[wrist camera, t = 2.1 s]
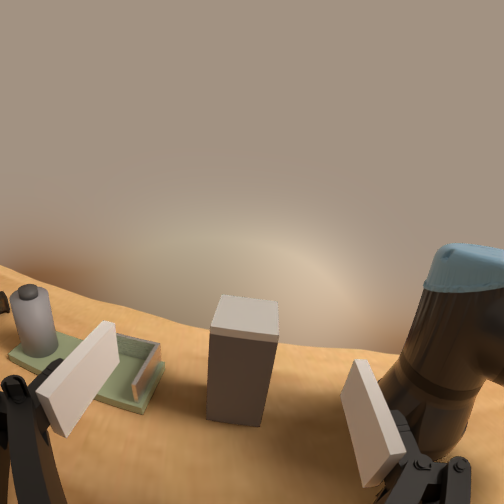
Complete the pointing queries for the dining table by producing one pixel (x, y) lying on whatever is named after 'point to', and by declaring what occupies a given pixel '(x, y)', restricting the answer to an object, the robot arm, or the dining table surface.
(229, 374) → the grey block
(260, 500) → the dining table surface
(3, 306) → the hand tool
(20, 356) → the desk organizer stand
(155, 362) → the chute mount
